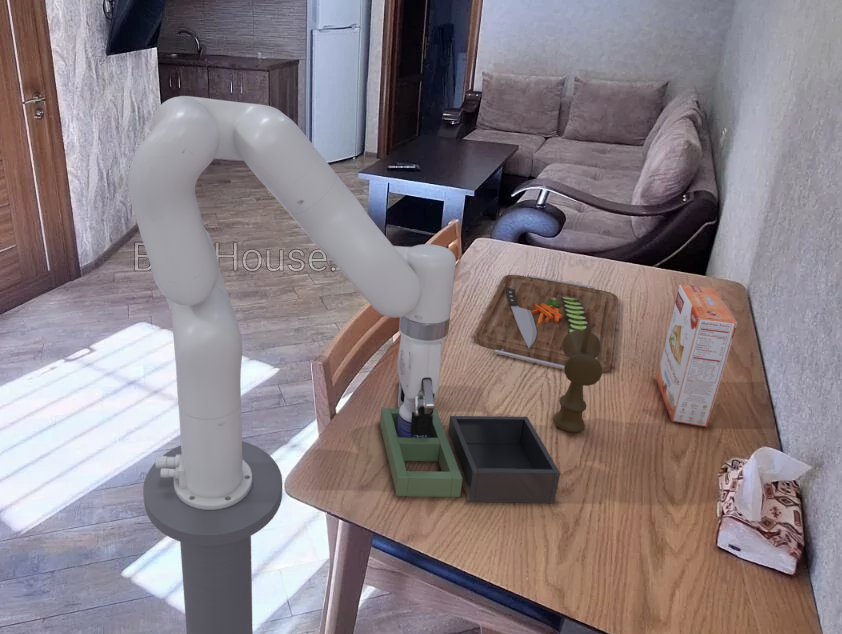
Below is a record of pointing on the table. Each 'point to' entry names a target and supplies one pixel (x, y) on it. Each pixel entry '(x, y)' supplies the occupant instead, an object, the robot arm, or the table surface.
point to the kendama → (578, 377)
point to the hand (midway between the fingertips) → (415, 416)
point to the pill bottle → (408, 418)
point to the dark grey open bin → (502, 460)
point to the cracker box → (695, 354)
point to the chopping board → (546, 319)
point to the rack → (420, 459)
